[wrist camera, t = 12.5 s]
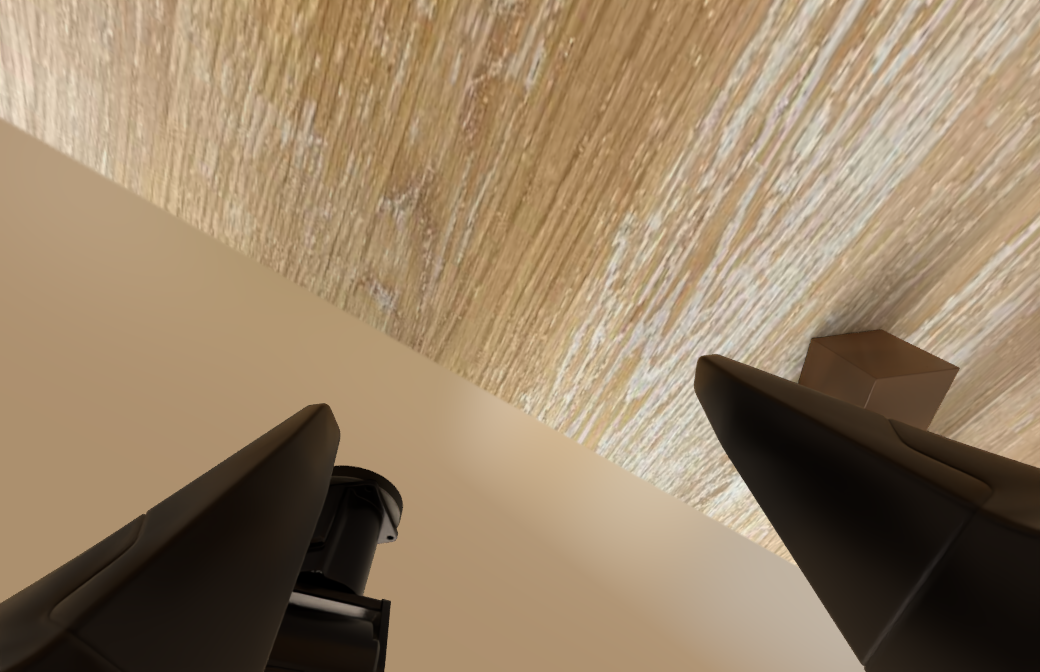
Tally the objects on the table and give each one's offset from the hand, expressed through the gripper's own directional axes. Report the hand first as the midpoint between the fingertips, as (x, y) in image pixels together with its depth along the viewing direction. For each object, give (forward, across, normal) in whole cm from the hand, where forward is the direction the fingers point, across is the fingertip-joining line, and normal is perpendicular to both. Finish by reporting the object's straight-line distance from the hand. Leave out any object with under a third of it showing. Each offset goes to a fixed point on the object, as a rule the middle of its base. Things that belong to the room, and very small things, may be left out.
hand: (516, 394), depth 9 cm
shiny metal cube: (+12, -21, +10) cm, 26 cm away
